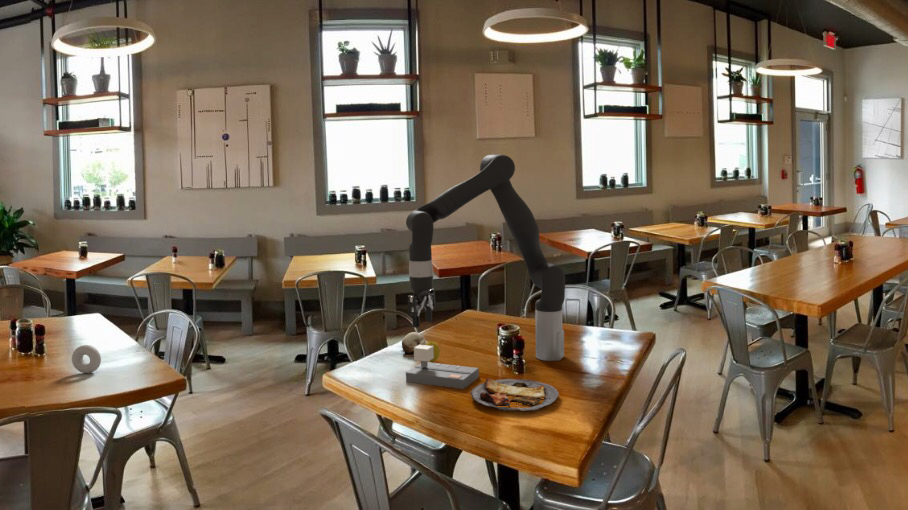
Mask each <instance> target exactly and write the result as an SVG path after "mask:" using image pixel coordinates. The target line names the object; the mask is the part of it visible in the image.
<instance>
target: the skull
mask: <svg viewBox="0 0 908 510" xmlns="http://www.w3.org/2000/svg"><path fill="white" fill-rule="evenodd" d="M427 343H428V341H427V340H426V339H425V337H424V336H423V335H421V334H420V333H419V332H415V331H412V332H409V333H407V334H406V335H405V336H404V337H403V338H402V340H401V348H402V350H401V352H402V353H404V357H410V358H411V357H413V358H414V348H415V347H416V346H418V345H426V344H427Z"/></svg>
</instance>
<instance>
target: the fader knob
mask: <svg viewBox="0 0 908 510" xmlns="http://www.w3.org/2000/svg"><path fill="white" fill-rule="evenodd" d="M433 358H434V351H433V346H428V345H418V346H416V347H415V348H414V357H413V360H414V361H420V363H421V367H427V366H428V362H429V361H430V360H432V359H433Z"/></svg>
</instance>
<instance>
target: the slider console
mask: <svg viewBox="0 0 908 510" xmlns="http://www.w3.org/2000/svg"><path fill="white" fill-rule="evenodd" d="M479 373H480V370H479V367H475V366H474V367H472V366H464V365H463V366H462V365H455V364H446V363H439V362H433V363H431V362H429V361H428V366H427V367H421V362H420V363H419V364H417V365H416V366H414V367H412V368H410V369H408V370H407V371H406V372H405V382H407V383H413V384H422V385H429V386H437V387H443V386H445V387H446V388H451V387H453V389H458V388H459V389H460V390H464V389H466V388H467V387H468V386H470V385H471V384H472V383H474V382H475V381H476V380H477V379H478V378H479V377H480V374H479ZM445 387H444V388H445Z"/></svg>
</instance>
